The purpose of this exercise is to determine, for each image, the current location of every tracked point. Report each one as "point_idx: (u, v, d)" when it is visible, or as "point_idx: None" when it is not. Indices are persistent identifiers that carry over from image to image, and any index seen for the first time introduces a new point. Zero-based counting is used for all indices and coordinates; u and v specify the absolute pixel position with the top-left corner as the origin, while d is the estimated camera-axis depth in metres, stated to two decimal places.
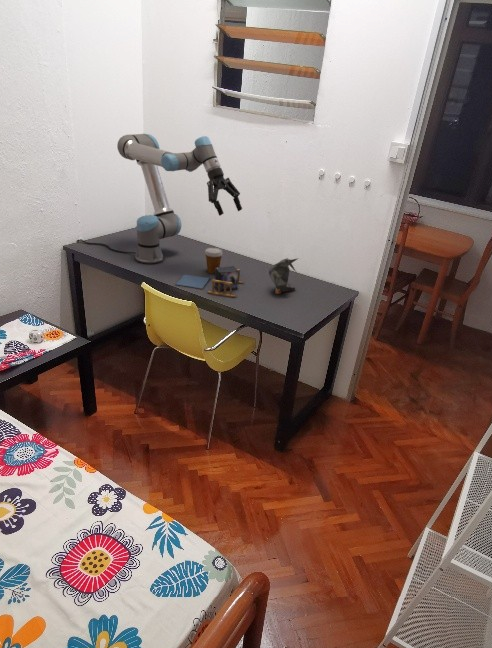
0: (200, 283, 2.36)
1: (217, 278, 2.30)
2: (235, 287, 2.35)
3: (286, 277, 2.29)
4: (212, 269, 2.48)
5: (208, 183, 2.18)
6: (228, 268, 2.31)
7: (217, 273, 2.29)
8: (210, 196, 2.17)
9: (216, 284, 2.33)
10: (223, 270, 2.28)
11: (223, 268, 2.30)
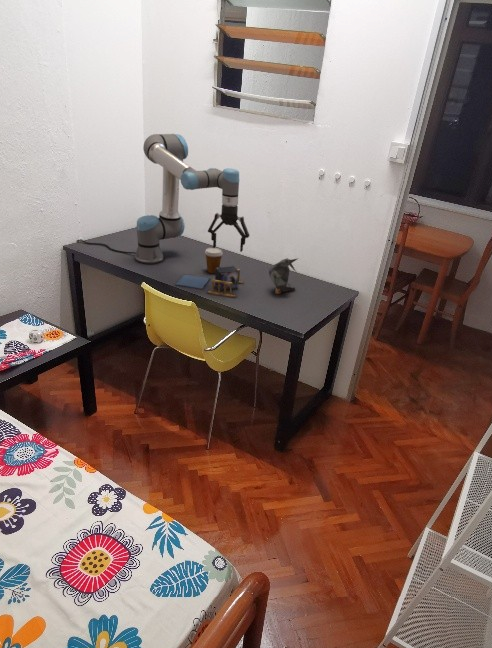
0: (200, 283, 2.36)
1: (217, 278, 2.30)
2: (235, 287, 2.35)
3: (286, 277, 2.29)
4: (212, 269, 2.48)
5: None
6: (228, 268, 2.31)
7: (217, 273, 2.29)
8: (209, 227, 2.20)
9: (216, 284, 2.33)
10: (223, 270, 2.28)
11: (223, 268, 2.30)
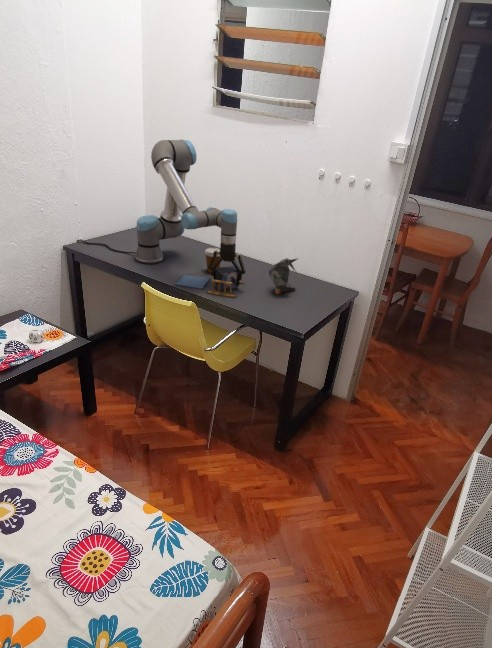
0: (200, 283, 2.36)
1: (217, 278, 2.30)
2: (235, 287, 2.35)
3: (286, 277, 2.29)
4: None
5: None
6: (228, 268, 2.31)
7: (217, 273, 2.29)
8: None
9: (216, 284, 2.33)
10: (223, 270, 2.28)
11: (223, 268, 2.30)
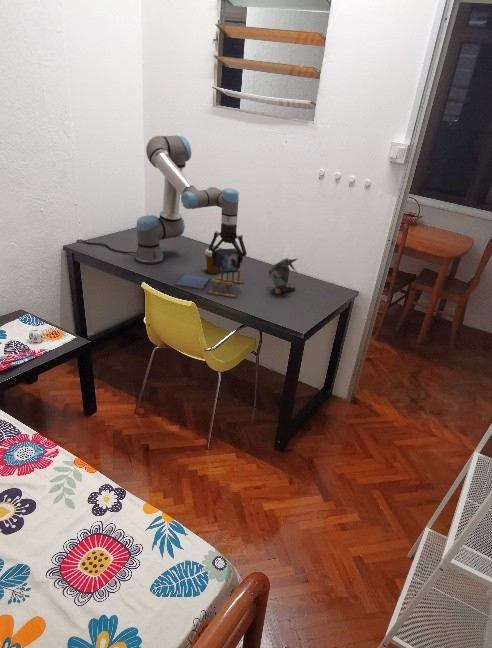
0: (200, 283, 2.36)
1: (217, 260, 2.25)
2: (236, 270, 2.30)
3: (286, 277, 2.29)
4: (212, 269, 2.48)
5: None
6: (229, 250, 2.26)
7: (217, 255, 2.24)
8: (209, 246, 2.25)
9: (216, 266, 2.28)
10: (224, 252, 2.23)
11: (224, 250, 2.25)
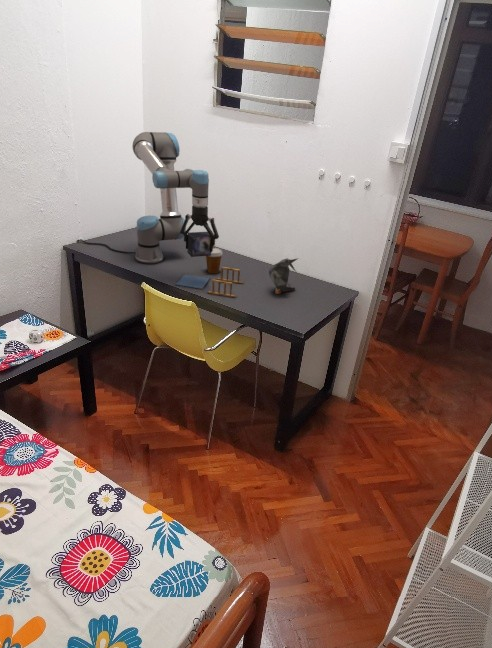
0: (200, 283, 2.36)
1: (189, 243, 2.23)
2: (208, 253, 2.28)
3: (286, 277, 2.29)
4: (212, 269, 2.48)
5: None
6: (201, 233, 2.24)
7: (189, 238, 2.23)
8: (181, 229, 2.23)
9: (189, 250, 2.26)
10: (195, 235, 2.22)
11: (195, 233, 2.23)
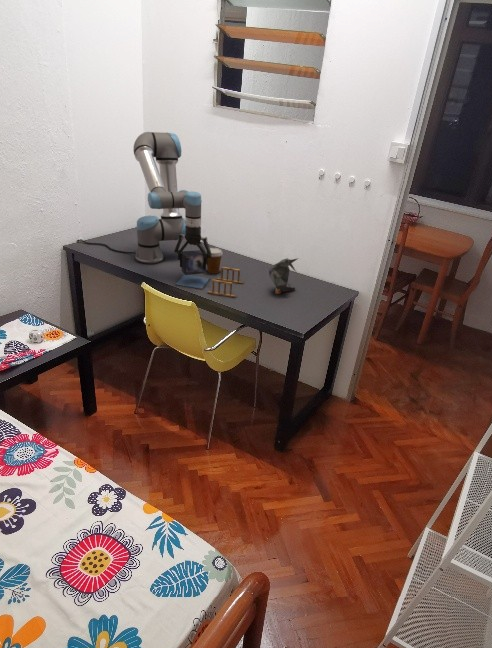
0: (200, 283, 2.36)
1: (183, 262, 2.29)
2: (202, 271, 2.34)
3: (286, 277, 2.29)
4: (212, 269, 2.48)
5: None
6: (194, 252, 2.30)
7: (183, 257, 2.29)
8: (175, 248, 2.29)
9: (182, 268, 2.32)
10: (189, 254, 2.27)
11: (189, 252, 2.29)
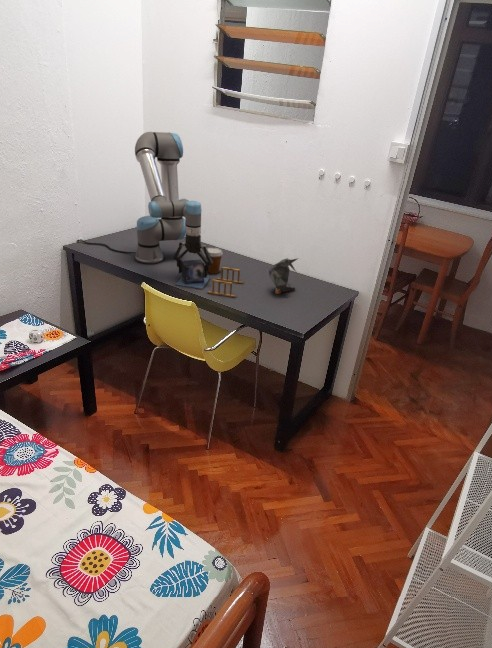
0: (200, 283, 2.36)
1: (183, 271, 2.32)
2: (202, 280, 2.37)
3: (286, 277, 2.29)
4: (212, 269, 2.48)
5: None
6: (194, 261, 2.33)
7: (183, 266, 2.31)
8: (174, 255, 2.31)
9: (183, 277, 2.35)
10: (189, 263, 2.30)
11: (189, 261, 2.32)
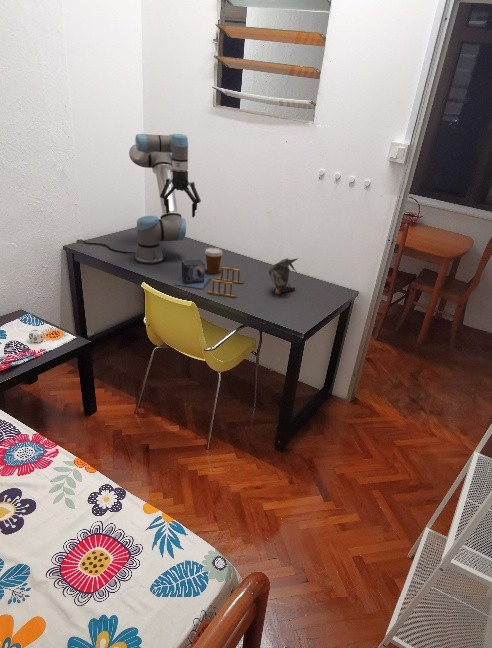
0: (200, 283, 2.36)
1: (183, 271, 2.32)
2: (202, 280, 2.37)
3: (286, 277, 2.29)
4: (212, 269, 2.48)
5: None
6: (194, 261, 2.33)
7: (183, 266, 2.31)
8: None
9: (183, 277, 2.35)
10: (189, 263, 2.30)
11: (189, 261, 2.32)
